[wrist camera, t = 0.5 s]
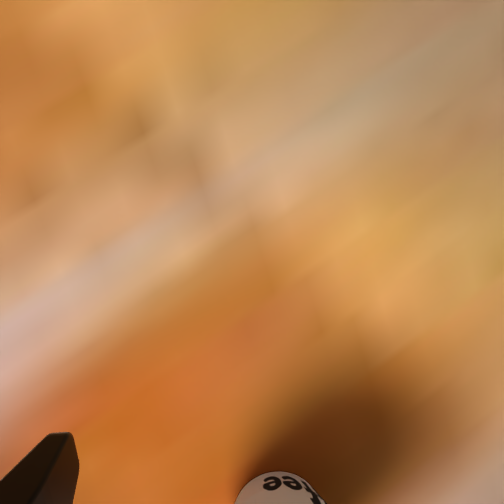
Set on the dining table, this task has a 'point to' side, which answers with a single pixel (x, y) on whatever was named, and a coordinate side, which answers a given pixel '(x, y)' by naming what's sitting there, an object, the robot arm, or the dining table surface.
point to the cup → (278, 490)
